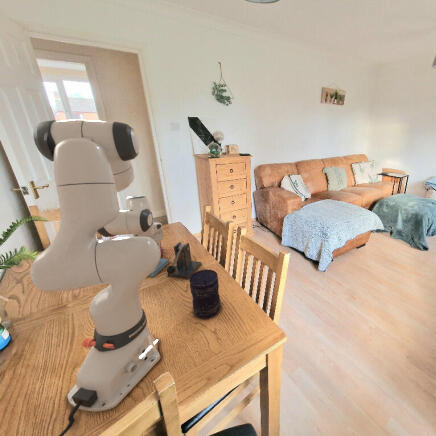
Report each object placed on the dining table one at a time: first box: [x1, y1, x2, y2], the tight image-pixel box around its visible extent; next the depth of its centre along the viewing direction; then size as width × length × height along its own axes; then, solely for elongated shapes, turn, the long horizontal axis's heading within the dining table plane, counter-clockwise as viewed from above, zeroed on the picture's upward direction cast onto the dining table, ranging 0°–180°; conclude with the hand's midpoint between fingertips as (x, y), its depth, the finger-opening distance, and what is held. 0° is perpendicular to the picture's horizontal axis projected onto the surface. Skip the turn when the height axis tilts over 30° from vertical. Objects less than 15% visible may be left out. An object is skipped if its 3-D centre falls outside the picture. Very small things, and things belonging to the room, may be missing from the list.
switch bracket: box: [167, 241, 202, 280], centre depth 112 cm, size 12×10×14 cm
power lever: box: [165, 243, 185, 274], centre depth 106 cm, size 14×4×4 cm, turn 171°
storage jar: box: [188, 269, 221, 320], centre depth 89 cm, size 10×10×15 cm
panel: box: [147, 257, 170, 278], centre depth 113 cm, size 12×10×4 cm
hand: (149, 256), depth 112 cm, fingers closed
